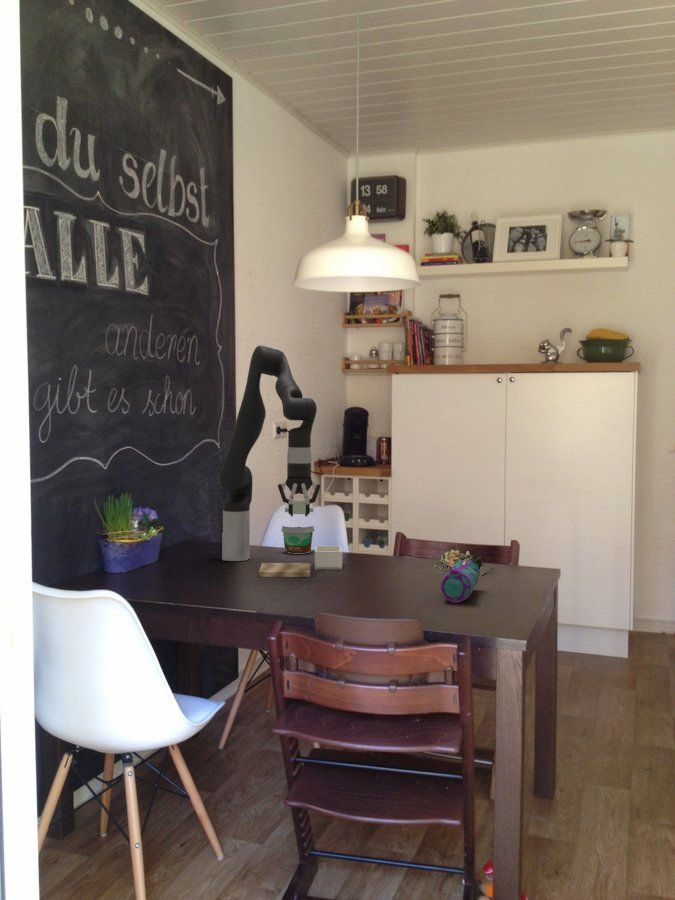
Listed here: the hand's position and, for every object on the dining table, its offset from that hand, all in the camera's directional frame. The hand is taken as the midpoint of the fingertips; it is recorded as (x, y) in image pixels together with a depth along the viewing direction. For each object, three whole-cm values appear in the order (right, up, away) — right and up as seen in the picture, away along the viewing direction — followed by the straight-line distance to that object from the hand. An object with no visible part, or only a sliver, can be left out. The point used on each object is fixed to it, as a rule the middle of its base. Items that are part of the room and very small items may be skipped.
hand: (298, 515), depth 267 cm
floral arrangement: (+53, -20, +18) cm, 59 cm away
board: (-5, -19, +7) cm, 21 cm away
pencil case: (+47, -21, -26) cm, 58 cm away
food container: (-3, -17, +42) cm, 46 cm away
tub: (+9, -18, +18) cm, 27 cm away
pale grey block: (0, +1, +7) cm, 7 cm away
